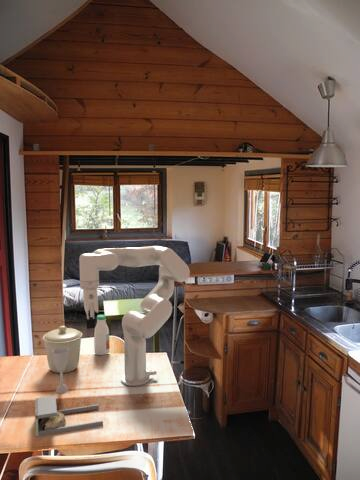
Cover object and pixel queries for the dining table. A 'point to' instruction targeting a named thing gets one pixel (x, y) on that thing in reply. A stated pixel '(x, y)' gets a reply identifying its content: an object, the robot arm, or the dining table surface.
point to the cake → (53, 422)
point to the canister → (63, 339)
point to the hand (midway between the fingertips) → (90, 327)
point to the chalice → (61, 365)
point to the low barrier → (49, 408)
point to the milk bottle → (101, 336)
